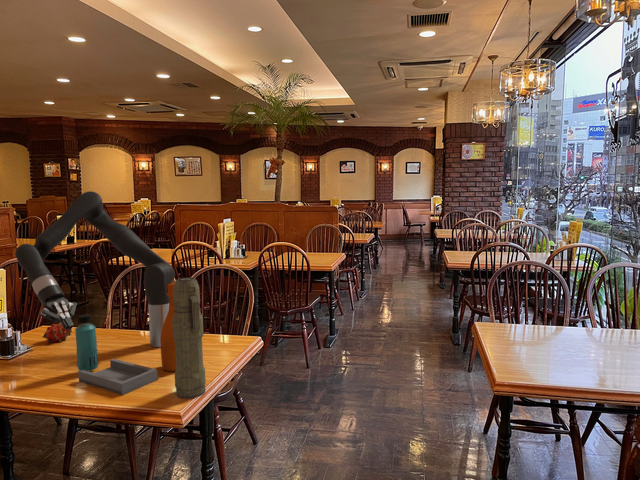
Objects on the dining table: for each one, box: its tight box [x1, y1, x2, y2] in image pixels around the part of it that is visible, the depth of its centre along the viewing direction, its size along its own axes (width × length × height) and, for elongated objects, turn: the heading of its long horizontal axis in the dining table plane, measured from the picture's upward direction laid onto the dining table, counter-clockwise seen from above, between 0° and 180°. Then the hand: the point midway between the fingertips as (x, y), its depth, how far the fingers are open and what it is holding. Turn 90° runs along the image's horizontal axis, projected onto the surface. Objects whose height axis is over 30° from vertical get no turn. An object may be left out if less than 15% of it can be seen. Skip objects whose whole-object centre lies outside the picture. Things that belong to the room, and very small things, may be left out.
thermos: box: [172, 276, 207, 400], centre depth 135 cm, size 9×12×35 cm
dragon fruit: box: [42, 322, 73, 343], centre depth 190 cm, size 8×8×12 cm
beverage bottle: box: [74, 314, 99, 372], centre depth 154 cm, size 6×7×20 cm
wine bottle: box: [160, 282, 176, 372], centre depth 156 cm, size 10×10×30 cm
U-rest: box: [77, 358, 159, 396], centre depth 146 cm, size 22×13×4 cm, turn 60°
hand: (70, 328), depth 158 cm, fingers closed
